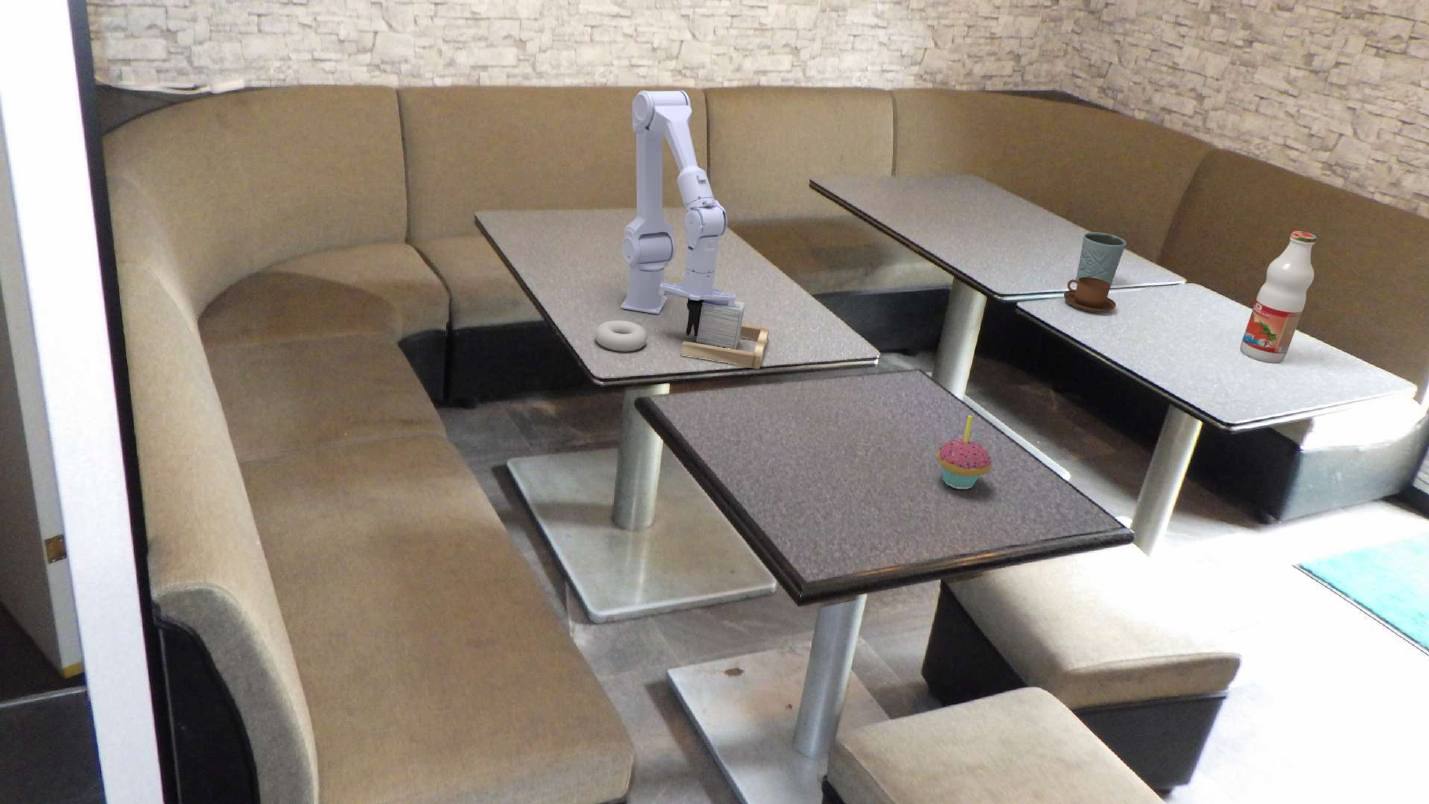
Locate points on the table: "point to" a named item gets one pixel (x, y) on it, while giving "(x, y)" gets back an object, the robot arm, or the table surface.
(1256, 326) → the fruit juice
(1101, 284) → the cup and saucer
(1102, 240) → the grey green embossed tumbler
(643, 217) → the robot arm
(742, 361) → the wooden u-shaped block
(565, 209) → the table surface
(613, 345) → the donut
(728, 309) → the medicine box
